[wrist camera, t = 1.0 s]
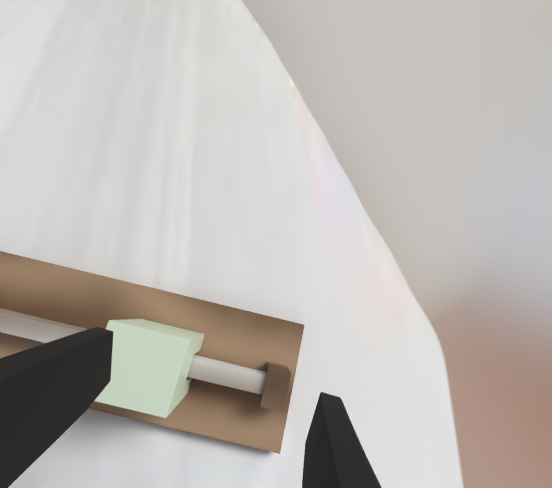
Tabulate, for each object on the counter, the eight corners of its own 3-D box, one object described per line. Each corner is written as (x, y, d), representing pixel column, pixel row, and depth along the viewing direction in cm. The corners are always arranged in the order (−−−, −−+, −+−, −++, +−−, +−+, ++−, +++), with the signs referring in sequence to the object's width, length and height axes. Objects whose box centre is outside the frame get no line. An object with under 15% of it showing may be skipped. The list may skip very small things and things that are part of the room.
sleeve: (187, 393, 18) (166, 418, 14) (120, 377, 18) (77, 397, 14) (204, 333, 20) (190, 339, 15) (141, 318, 20) (109, 320, 15)
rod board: (278, 446, 19) (283, 477, 15) (-88, 359, 19) (-171, 370, 15) (302, 324, 22) (311, 326, 18) (-21, 246, 21) (-79, 232, 18)
